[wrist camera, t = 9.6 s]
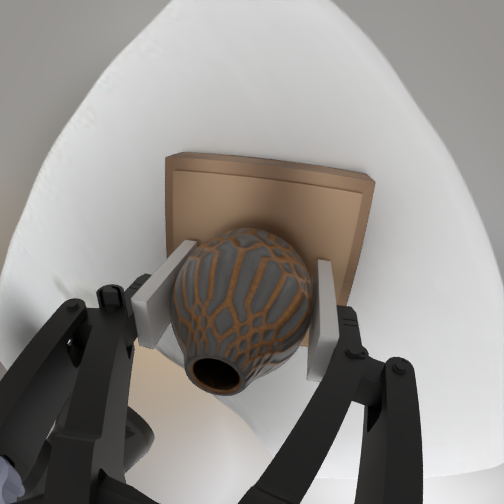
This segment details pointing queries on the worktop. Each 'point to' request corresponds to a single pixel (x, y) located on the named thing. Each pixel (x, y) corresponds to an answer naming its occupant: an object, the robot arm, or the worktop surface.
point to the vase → (240, 308)
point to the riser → (271, 207)
